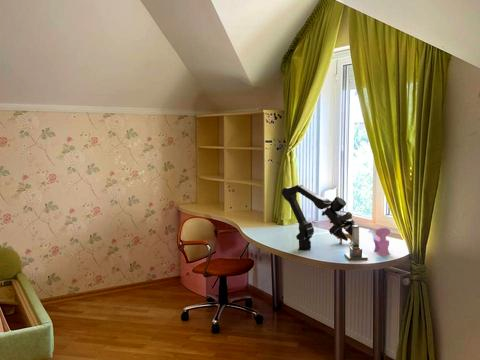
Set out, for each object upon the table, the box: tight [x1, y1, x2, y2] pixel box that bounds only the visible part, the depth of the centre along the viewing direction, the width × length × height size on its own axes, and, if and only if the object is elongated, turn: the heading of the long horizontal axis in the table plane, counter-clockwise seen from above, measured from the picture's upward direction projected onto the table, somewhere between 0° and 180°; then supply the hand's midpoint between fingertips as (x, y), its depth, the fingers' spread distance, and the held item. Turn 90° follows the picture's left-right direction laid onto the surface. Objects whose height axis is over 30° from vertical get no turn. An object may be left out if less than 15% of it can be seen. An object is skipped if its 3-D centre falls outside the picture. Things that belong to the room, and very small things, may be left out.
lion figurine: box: [333, 231, 352, 245], centre depth 284 cm, size 15×5×9 cm, turn 71°
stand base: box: [343, 246, 369, 262], centre depth 252 cm, size 10×10×6 cm
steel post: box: [351, 224, 360, 249], centre depth 251 cm, size 4×4×12 cm
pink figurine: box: [373, 227, 391, 256], centre depth 260 cm, size 8×9×15 cm
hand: (351, 238), depth 253 cm, fingers open, 9 cm apart
